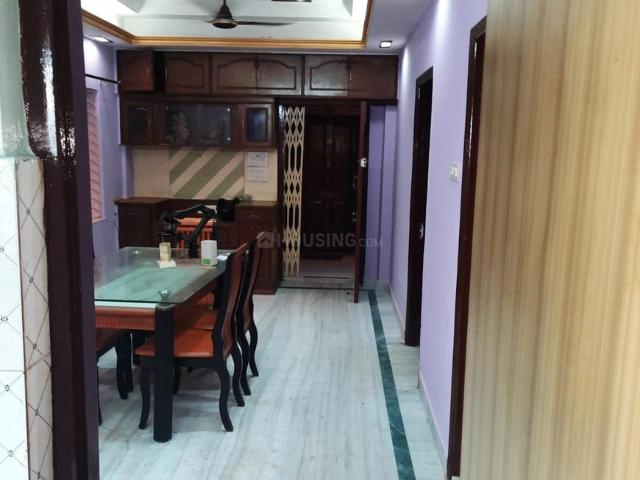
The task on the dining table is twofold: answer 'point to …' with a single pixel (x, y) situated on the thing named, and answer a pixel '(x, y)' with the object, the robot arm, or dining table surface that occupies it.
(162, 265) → the off-white base block
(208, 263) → the skincare box
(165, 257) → the maple pillar block
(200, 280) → the dining table surface
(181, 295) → the dining table surface
